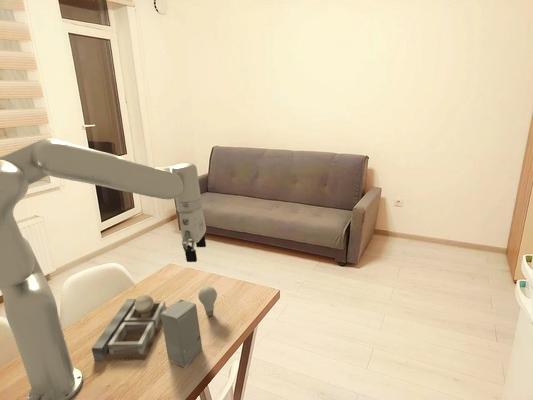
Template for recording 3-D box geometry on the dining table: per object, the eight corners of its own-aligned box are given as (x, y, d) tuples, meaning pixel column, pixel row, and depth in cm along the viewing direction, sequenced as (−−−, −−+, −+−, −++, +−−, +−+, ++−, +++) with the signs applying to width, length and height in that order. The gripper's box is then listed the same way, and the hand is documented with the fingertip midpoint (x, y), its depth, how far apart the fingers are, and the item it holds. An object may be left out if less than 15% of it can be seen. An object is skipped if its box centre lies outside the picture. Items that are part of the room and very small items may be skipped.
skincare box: (184, 368, 94) (177, 320, 89) (166, 360, 98) (158, 313, 93) (204, 348, 101) (198, 303, 96) (186, 341, 104) (179, 297, 100)
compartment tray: (145, 360, 98) (139, 331, 95) (94, 360, 99) (87, 332, 96) (170, 309, 121) (166, 285, 118) (129, 309, 121) (124, 285, 118)
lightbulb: (210, 323, 112) (207, 294, 109) (197, 317, 115) (193, 289, 112) (222, 313, 117) (219, 285, 114) (209, 308, 120) (206, 280, 117)
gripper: (191, 214, 95) (200, 267, 100) (208, 194, 111) (215, 241, 117) (166, 214, 96) (175, 267, 101) (186, 195, 112) (194, 242, 118)
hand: (196, 253), depth 109 cm, fingers open, 9 cm apart
